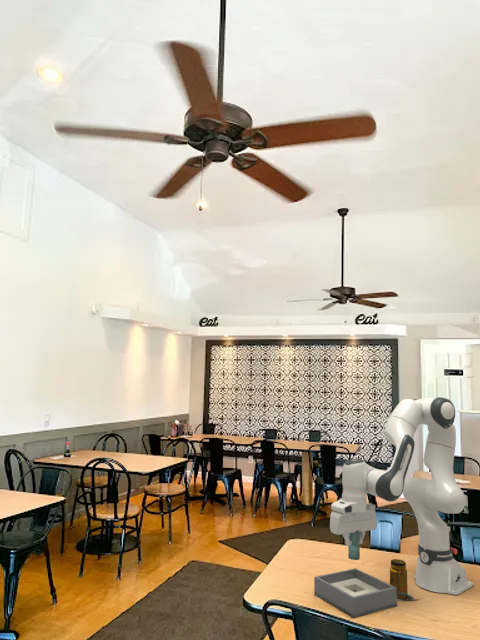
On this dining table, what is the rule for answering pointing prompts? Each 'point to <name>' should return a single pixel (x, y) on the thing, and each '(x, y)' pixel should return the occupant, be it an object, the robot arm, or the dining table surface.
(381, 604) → the socket box
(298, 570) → the dining table surface
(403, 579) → the condiment
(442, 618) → the dining table surface
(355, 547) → the peg
